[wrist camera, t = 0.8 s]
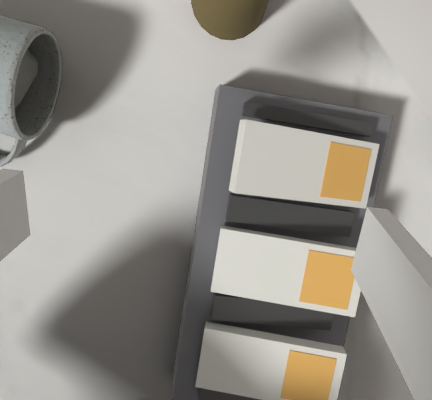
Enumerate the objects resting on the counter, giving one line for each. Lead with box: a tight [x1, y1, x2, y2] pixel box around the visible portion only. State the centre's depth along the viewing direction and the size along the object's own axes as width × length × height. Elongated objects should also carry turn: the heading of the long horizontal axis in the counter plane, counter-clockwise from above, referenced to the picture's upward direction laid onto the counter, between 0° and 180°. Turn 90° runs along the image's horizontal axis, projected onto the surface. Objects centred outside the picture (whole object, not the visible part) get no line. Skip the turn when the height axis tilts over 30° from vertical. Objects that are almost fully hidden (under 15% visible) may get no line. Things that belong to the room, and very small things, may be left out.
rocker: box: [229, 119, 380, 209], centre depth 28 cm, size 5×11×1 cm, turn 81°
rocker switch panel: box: [172, 84, 393, 400], centre depth 32 cm, size 26×14×4 cm, turn 171°
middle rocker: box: [210, 225, 361, 317], centre depth 29 cm, size 5×11×1 cm, turn 81°
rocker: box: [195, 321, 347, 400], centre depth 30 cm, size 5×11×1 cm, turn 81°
